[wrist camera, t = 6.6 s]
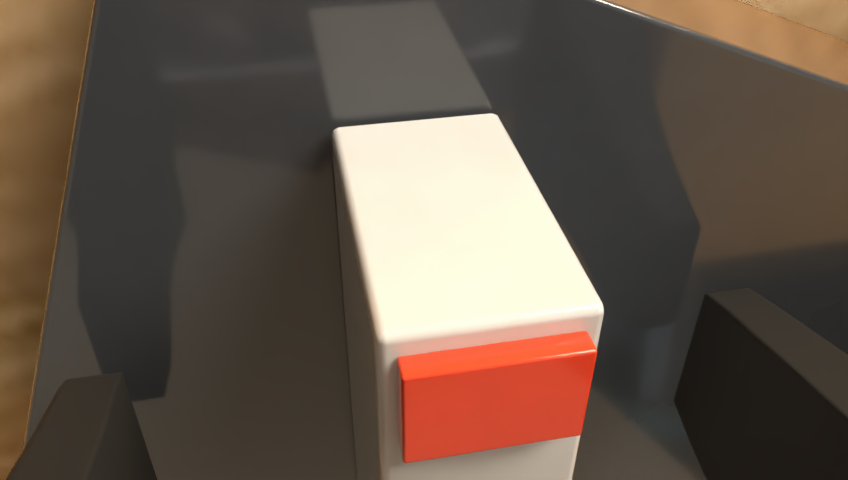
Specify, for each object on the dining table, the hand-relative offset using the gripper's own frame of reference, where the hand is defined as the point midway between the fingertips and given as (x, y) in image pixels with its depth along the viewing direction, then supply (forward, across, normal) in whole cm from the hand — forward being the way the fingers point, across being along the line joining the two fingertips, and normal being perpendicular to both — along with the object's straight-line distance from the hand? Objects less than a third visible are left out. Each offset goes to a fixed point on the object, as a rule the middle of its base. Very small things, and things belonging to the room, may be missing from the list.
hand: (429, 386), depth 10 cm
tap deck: (+4, -2, +1) cm, 4 cm away
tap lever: (+1, 0, 0) cm, 1 cm away
